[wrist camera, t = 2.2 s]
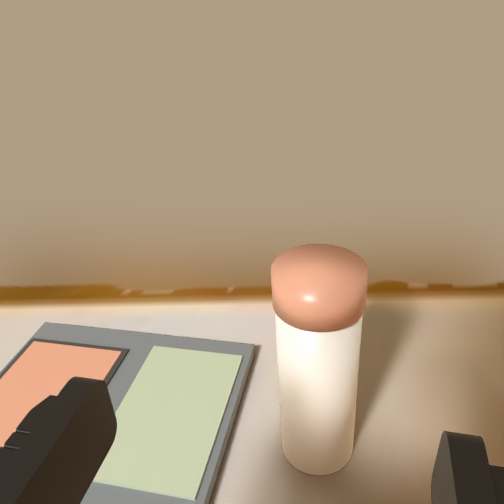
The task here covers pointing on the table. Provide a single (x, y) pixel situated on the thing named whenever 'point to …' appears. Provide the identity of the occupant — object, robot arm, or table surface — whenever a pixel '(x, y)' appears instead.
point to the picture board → (139, 405)
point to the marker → (318, 352)
